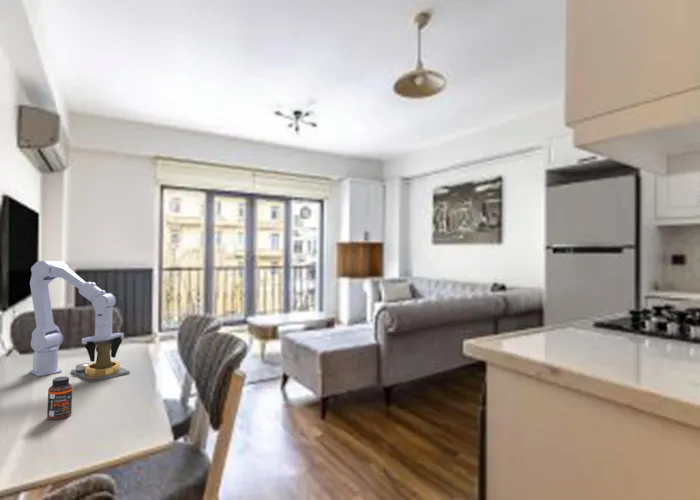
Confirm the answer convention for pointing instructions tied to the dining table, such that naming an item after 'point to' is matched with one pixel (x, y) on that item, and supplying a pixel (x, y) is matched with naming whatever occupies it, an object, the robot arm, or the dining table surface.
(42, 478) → the dining table surface
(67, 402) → the supplement bottle
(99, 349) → the cork
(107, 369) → the flanged metal plate
